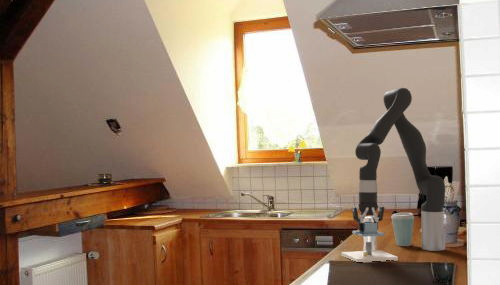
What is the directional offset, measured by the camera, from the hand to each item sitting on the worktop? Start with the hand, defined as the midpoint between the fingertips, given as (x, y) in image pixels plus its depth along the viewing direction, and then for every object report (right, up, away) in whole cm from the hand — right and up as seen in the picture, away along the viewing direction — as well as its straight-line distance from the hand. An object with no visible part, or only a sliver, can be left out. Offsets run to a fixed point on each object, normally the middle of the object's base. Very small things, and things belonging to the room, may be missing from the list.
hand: (368, 231), depth 237 cm
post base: (0, -11, 0) cm, 11 cm away
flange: (0, -1, 0) cm, 1 cm away
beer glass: (+4, -11, +17) cm, 21 cm away
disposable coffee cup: (+23, -12, +31) cm, 40 cm away
